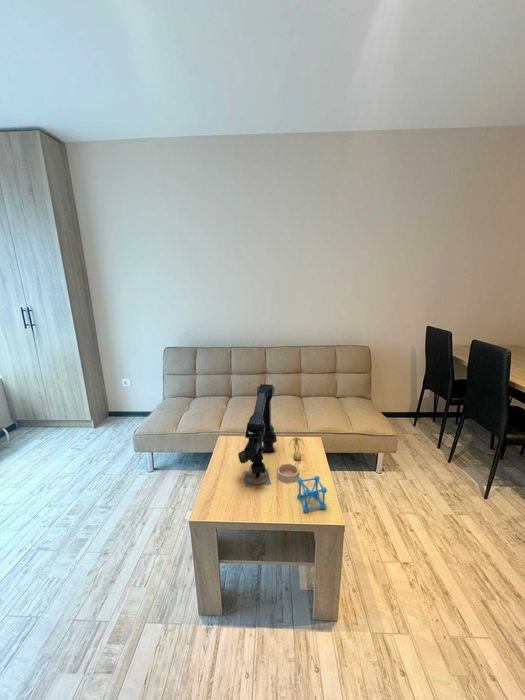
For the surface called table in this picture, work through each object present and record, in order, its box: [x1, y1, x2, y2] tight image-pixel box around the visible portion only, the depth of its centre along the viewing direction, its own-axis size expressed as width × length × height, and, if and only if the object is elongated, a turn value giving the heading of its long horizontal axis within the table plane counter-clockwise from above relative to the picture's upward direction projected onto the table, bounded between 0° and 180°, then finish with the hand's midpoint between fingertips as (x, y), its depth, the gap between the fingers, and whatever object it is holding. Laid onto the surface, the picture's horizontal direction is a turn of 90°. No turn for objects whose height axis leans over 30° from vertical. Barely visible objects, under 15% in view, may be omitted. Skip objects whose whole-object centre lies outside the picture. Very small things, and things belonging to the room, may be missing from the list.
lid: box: [246, 470, 269, 485], centre depth 144 cm, size 11×11×5 cm
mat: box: [243, 468, 272, 488], centre depth 144 cm, size 12×12×1 cm
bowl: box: [276, 463, 300, 484], centre depth 145 cm, size 10×10×4 cm
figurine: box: [288, 436, 305, 461], centre depth 159 cm, size 8×6×12 cm
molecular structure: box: [296, 475, 328, 513], centre depth 126 cm, size 10×10×10 cm
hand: (256, 475), depth 144 cm, fingers closed on lid, 3 cm apart
